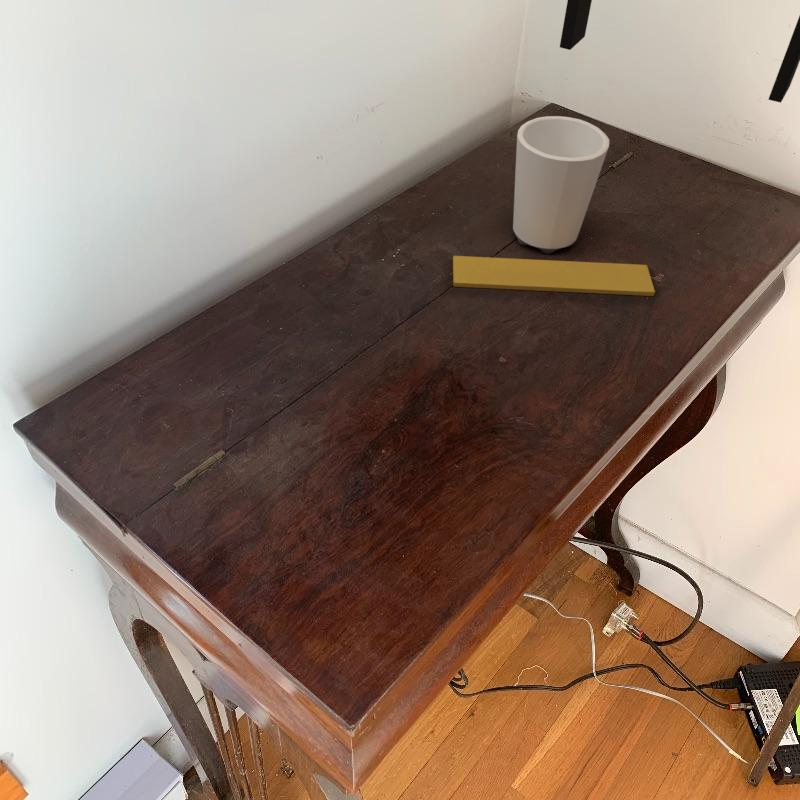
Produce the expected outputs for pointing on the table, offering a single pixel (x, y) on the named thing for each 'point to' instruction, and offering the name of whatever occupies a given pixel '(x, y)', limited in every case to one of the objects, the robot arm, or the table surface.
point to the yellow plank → (552, 275)
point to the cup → (555, 179)
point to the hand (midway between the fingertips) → (671, 67)
